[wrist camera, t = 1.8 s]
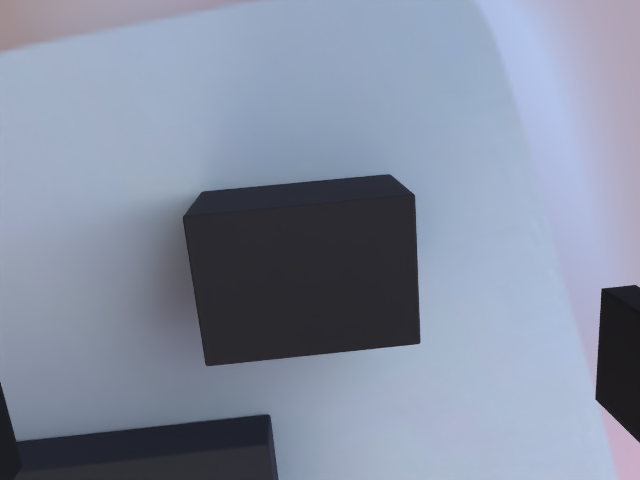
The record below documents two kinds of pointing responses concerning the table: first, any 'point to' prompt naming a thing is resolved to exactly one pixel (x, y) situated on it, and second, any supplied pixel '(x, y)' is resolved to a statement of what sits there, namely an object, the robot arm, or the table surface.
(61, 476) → the charcoal pad
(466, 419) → the table surface
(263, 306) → the black pad
